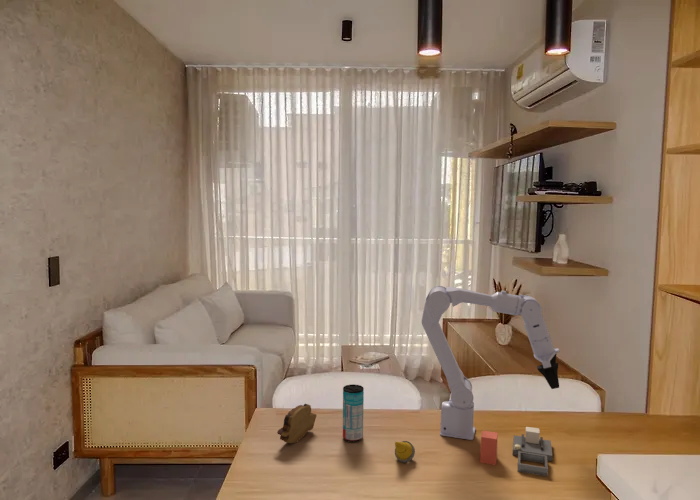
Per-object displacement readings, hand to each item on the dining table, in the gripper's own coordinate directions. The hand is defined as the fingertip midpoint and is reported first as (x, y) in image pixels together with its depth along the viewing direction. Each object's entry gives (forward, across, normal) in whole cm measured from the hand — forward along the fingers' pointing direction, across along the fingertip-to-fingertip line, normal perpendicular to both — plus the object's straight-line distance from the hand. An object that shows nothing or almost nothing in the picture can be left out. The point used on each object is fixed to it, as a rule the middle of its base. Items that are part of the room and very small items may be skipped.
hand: (554, 382), depth 147 cm
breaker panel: (+14, -8, +11) cm, 20 cm away
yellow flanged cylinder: (+2, -26, +41) cm, 49 cm away
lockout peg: (+10, -18, +21) cm, 29 cm away
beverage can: (-3, -18, +57) cm, 60 cm away
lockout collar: (+14, -18, +11) cm, 25 cm away
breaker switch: (+13, -6, +10) cm, 17 cm away
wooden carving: (-8, -24, +71) cm, 75 cm away
